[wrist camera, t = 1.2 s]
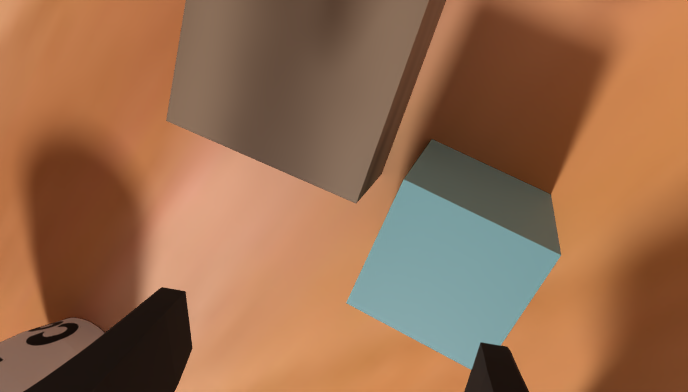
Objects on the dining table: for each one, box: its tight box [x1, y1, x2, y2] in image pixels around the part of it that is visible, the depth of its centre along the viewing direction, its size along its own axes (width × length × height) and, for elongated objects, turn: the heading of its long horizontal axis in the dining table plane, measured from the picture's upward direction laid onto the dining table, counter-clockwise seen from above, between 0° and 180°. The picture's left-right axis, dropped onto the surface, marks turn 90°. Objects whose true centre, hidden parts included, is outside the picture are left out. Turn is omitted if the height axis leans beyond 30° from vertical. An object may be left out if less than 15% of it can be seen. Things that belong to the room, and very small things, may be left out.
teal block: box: [347, 139, 561, 370], centre depth 18 cm, size 5×5×6 cm
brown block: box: [166, 0, 446, 203], centre depth 19 cm, size 8×8×4 cm
